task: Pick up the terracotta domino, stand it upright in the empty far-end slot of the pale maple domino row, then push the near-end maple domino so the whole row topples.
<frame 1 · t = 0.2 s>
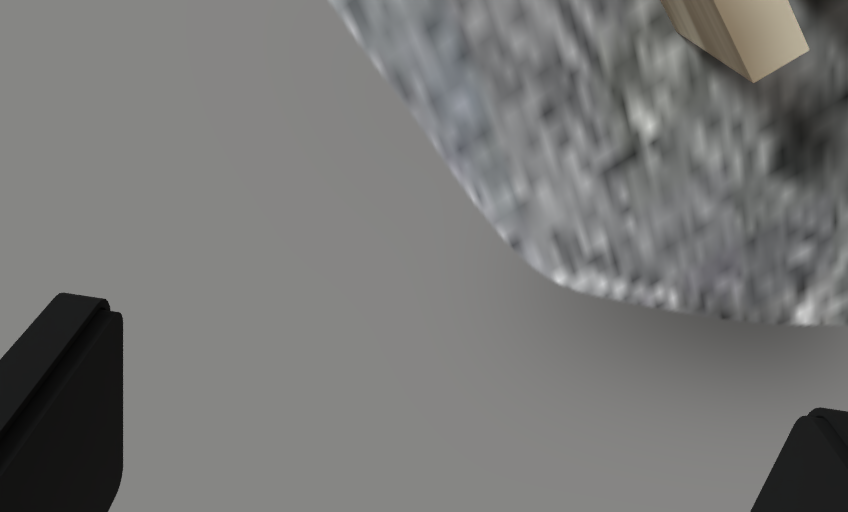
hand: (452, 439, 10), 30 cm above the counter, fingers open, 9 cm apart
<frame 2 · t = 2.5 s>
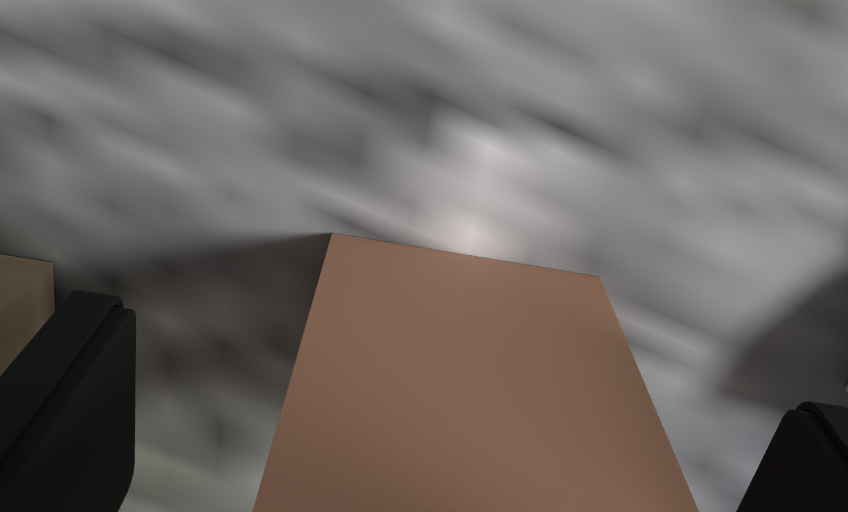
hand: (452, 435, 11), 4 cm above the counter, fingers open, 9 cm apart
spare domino: (455, 306, 14), on the counter
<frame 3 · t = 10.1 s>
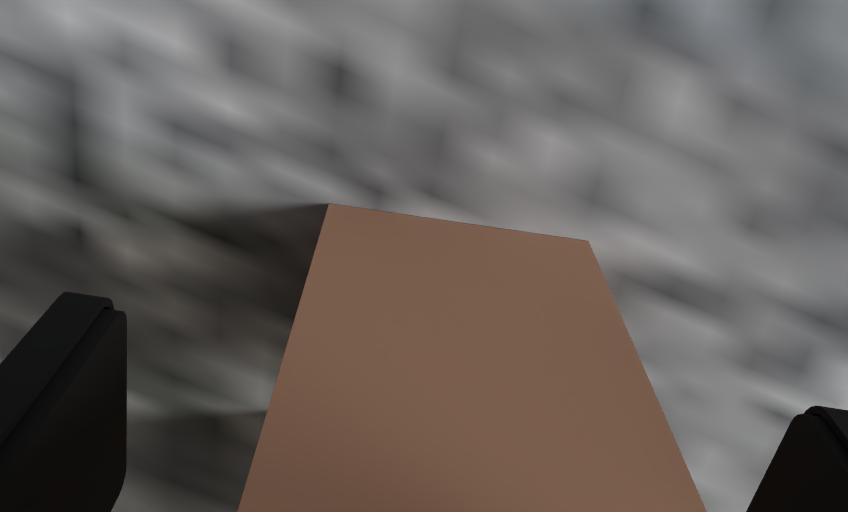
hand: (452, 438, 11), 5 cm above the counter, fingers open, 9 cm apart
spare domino: (450, 273, 15), on the counter
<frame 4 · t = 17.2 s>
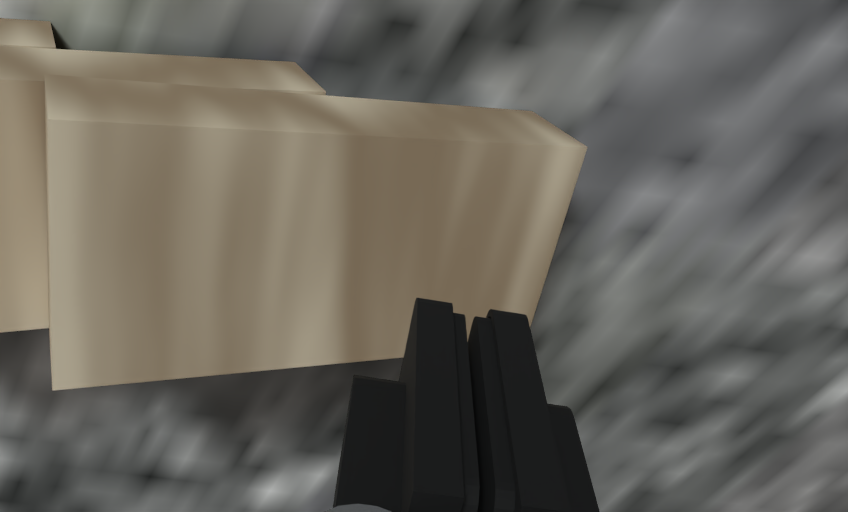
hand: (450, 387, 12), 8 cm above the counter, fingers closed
domino 2: (298, 185, 17), point 1 cm above the counter, tilted 65°, touching domino 1
domino 1: (528, 230, 18), point 1 cm above the counter, tilted 65°, touching domino 2
domino 3: (59, 148, 17), point 1 cm above the counter, tilted 64°, touching domino 4
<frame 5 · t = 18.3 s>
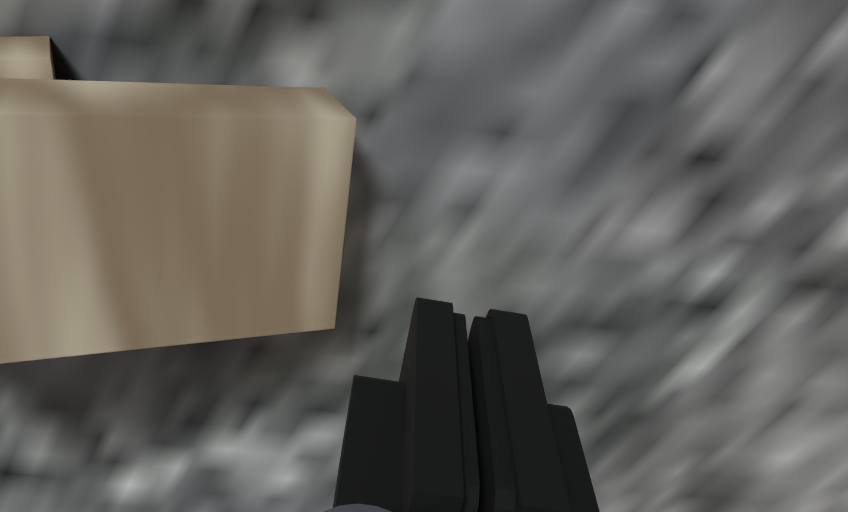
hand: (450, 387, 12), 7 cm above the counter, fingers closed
domino 2: (67, 161, 17), point 1 cm above the counter, tilted 66°, touching domino 3
domino 1: (329, 209, 17), point 1 cm above the counter, tilted 67°
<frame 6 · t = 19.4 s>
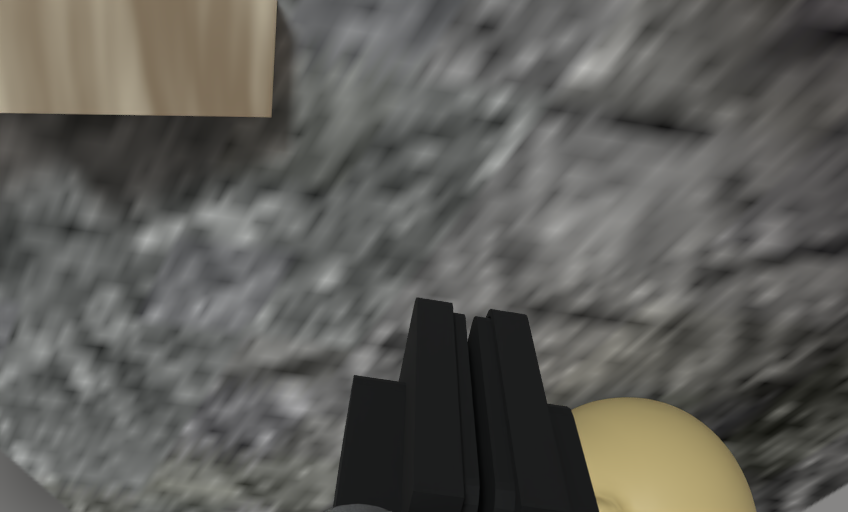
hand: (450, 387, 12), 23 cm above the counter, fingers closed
yellow oval melon: (603, 453, 42), on the counter
domino 1: (268, 48, 31), point 1 cm above the counter, tilted 67°, touching domino 2
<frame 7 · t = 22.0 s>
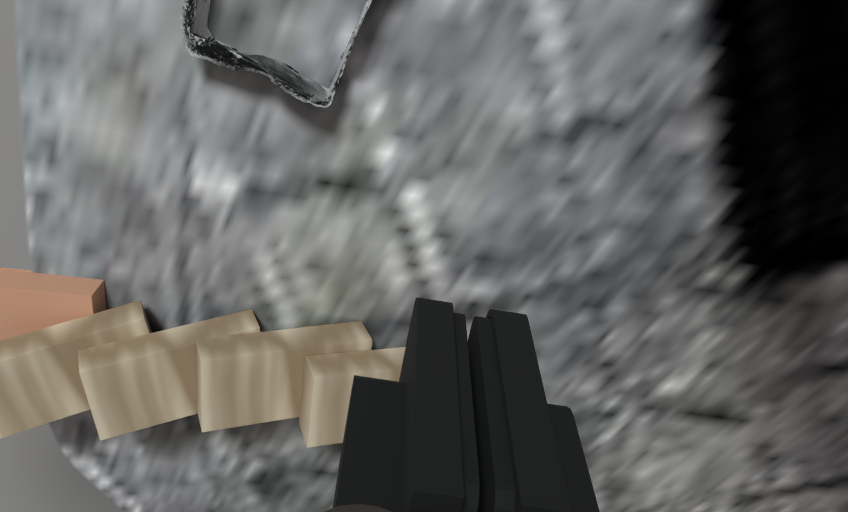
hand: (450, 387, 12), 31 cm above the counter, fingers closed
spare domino: (101, 322, 47), point 1 cm above the counter, tilted 90°, touching domino 4
domino 4: (154, 342, 46), point 2 cm above the counter, tilted 67°, touching domino 3, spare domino
domino 2: (363, 363, 48), point 1 cm above the counter, tilted 67°, touching domino 1, domino 3
domino 1: (460, 384, 48), point 1 cm above the counter, tilted 69°, touching domino 2
domino 3: (260, 351, 47), point 1 cm above the counter, tilted 66°, touching domino 2, domino 4
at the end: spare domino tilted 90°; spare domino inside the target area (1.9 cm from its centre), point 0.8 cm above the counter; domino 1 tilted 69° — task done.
